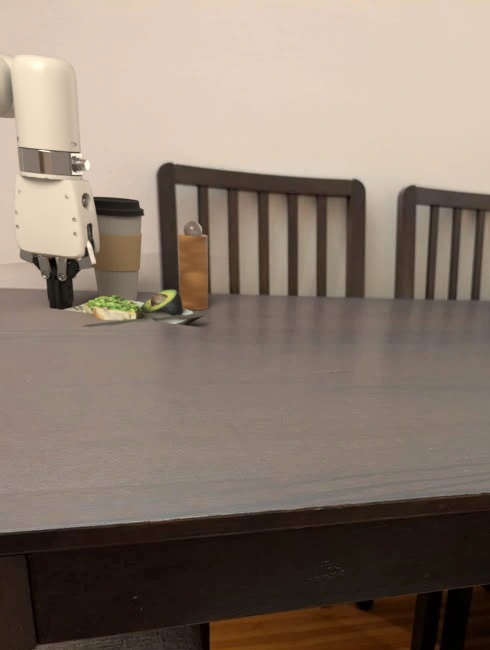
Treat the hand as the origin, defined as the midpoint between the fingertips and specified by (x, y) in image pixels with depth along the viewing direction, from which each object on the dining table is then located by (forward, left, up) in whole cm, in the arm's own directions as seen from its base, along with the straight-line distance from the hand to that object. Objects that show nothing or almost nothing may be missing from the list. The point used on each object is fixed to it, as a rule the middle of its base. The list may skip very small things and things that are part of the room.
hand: (61, 307), depth 102 cm
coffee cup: (0, +16, -2) cm, 16 cm away
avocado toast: (+10, +1, -2) cm, 10 cm away
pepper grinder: (+12, +17, -1) cm, 21 cm away
